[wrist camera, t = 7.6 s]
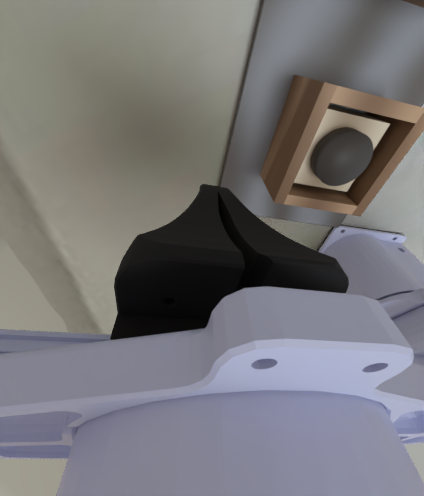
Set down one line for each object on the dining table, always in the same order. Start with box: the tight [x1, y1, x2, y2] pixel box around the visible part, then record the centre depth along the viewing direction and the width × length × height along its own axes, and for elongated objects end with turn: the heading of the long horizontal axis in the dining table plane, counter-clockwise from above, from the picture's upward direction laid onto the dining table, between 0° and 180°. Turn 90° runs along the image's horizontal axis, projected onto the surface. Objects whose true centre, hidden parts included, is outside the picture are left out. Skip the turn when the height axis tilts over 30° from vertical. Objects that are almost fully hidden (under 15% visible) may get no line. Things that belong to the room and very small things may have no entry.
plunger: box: [294, 105, 390, 192], centre depth 17 cm, size 5×5×5 cm
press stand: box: [219, 0, 424, 228], centre depth 13 cm, size 14×28×6 cm, turn 169°
